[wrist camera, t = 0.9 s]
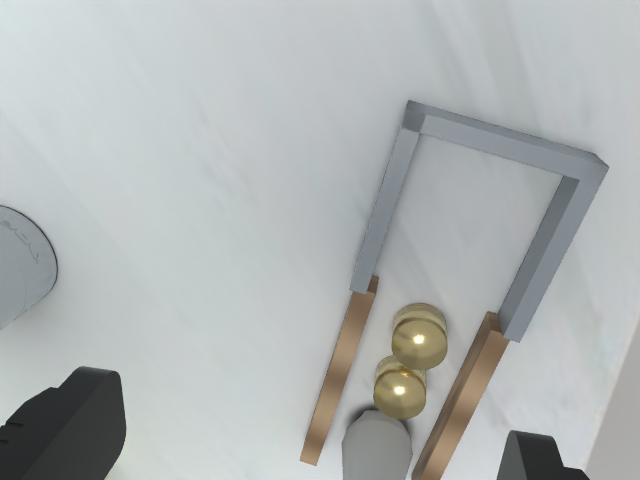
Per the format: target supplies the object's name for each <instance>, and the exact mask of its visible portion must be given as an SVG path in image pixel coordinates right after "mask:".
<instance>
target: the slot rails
mask: <svg viewBox="0 0 640 480" xmlns="http://www.w3.org/2000/svg"><path fill="white" fill-rule="evenodd" d="M377 284H378V277H374V276H372V277H371V280H370V283H369V286H368V289H367V292H366V295H365V294H362V293H359V292H356V291H353V294H352V297H351V300H350V303H349V306H348V309H347V312H346V316H345V319H344V322H343V325H342V328H341V331H340V334H339V337H338V340H337V343H336V346H335V349H334V353H333V356H332V359H331V362H330V365H329V368H328V371H327V374H326V377H325V380H324V383H323V386H322V390H321V393H320V396H319V399H318V402H317V405H316V408H315V411H314V414H313V417H312V420H311V424H310V427H309V430H308V433H307V436H306V439H305V442H304V446H303V450H302V453H301V457H300V461H302V462H305V463H308V464H311V465H314V466H316V465H317V462H318V459H319V456H320V453H321V450H322V448H323V445H324V442H325V439H326V436H327V433H328V430H329V427H330V425H331V422H332V419H333V416H334V413H335V410H336V407H337V404H338V401H339V399H340V396H341V393H342V390H343V387H344V384H345V381H346V378H347V376H348V373H349V370H350V367H351V364H352V361H353V358H354V355H355V352H356V350H357V347H358V344H359V341H360V338H361V335H362V332H363V329H364V327H365V324H366V321H367V318H368V315H369V312H370V309H371V306H372V304H373V301H374V298H375V295H376V290H377ZM509 341H510V340H509V339H506V338H503V336H502V331H501V327H500V322H499V318H498V315H497V314H494V313H491V312H487V314H486V316H485V318H484V320H483V322H482V325H481V327H480V329H479V331H478V333H477V335H476V338H475V340H474V342H473V344H472V346H471V348H470V350H469V353H468V355H467V357H466V359H465V361H464V363H463V365H462V368H461V370H460V372H459V374H458V376H457V378H456V381H455V383H454V385H453V387H452V389H451V391H450V393H449V396H448V398H447V400H446V402H445V404H444V406H443V409H442V411H441V413H440V415H439V417H438V419H437V421H436V424H435V426H434V428H433V430H432V432H431V434H430V437H429V439H428V441H427V443H426V445H425V447H424V449H423V452H422V454H421V456H420V458H419V460H418V462H417V465H416V467H415V469H414V471H413V473H412V480H440V479H441V477H442V475H443V473H444V471H445V469H446V467H447V465H448V463H449V461H450V459H451V457H452V455H453V453H454V451H455V449H456V447H457V445H458V443H459V441H460V439H461V437H462V435H463V433H464V431H465V429H466V427H467V425H468V423H469V421H470V419H471V417H472V415H473V413H474V411H475V409H476V407H477V405H478V403H479V401H480V399H481V397H482V395H483V393H484V391H485V389H486V387H487V385H488V383H489V381H490V379H491V377H492V375H493V373H494V371H495V369H496V367H497V365H498V363H499V361H500V359H501V357H502V355H503V353H504V351H505V349H506V347H507V345H508V343H509Z"/></svg>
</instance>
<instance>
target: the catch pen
mask: <svg viewBox="0 0 640 480" xmlns="http://www.w3.org/2000/svg"><path fill="white" fill-rule="evenodd" d="M420 133H421V134H425V135H428V136H432V137H435V138H439V139H442V140H445V141H449V142H452V143H456V144H459V145H462V146H466V147H469V148H473V149H476V150H480V151H483V152H486V153H490V154H493V155H497V156H500V157H503V158H507V159H510V160H514V161H517V162H521V163H524V164H527V165H531V166H534V167H538V168H541V169H545V170H548V171H551V172H555V173H558V174H562V175H564V177H563V179H562V181H561V183H560V185H559V187H558V189H557V191H556V194H555V196H554V198H553V200H552V202H551V204H550V206H549V208H548V210H547V212H546V215H545V217H544V219H543V221H542V223H541V225H540V227H539V229H538V231H537V233H536V236H535V238H534V240H533V242H532V244H531V246H530V248H529V250H528V252H527V254H526V257H525V259H524V261H523V263H522V265H521V267H520V269H519V271H518V273H517V275H516V278H515V280H514V282H513V284H512V286H511V288H510V290H509V292H508V294H507V296H506V299H505V301H504V303H503V305H502V307H501V309H500V311H499V313H498V318H499V322H500V327H501V331H502V336H503V338H506V339H509V340H512V341H516V342H519V343H520V341H521V339H522V337H523V335H524V333H525V331H526V329H527V327H528V325H529V323H530V321H531V320H532V318H533V316H534V314H535V312H536V310H537V308H538V306H539V304H540V302H541V300H542V298H543V296H544V294H545V292H546V290H547V288H548V286H549V284H550V282H551V281H552V279H553V277H554V275H555V273H556V271H557V269H558V267H559V265H560V263H561V261H562V259H563V257H564V255H565V253H566V251H567V249H568V247H569V245H570V243H571V241H572V240H573V238H574V236H575V234H576V232H577V230H578V228H579V226H580V224H581V222H582V220H583V218H584V216H585V214H586V212H587V210H588V208H589V206H590V204H591V202H592V200H593V199H594V197H595V195H596V193H597V191H598V189H599V187H600V185H601V183H602V181H603V179H604V177H605V175H606V173H607V171H608V169H609V166H608V165H607V164H605V163H604V162H603V161H602V160H601V159H600V158H599V157H598V156H597V155H595V154H593V153H589V152H586V151H582V150H579V149H575V148H572V147H569V146H565V145H562V144H558V143H555V142H551V141H548V140H544V139H541V138H537V137H534V136H530V135H527V134H524V133H520V132H517V131H513V130H510V129H506V128H503V127H499V126H496V125H492V124H489V123H486V122H482V121H479V120H475V119H472V118H468V117H465V116H461V115H458V114H454V113H451V112H448V111H444V110H441V109H437V108H434V107H430V106H427V105H423V104H420V103H416V102H413V101H408V104H407V107H406V110H405V113H404V116H403V120H402V123H401V126H400V129H399V132H398V135H397V138H396V141H395V145H394V148H393V151H392V154H391V157H390V160H389V163H388V167H387V170H386V173H385V176H384V179H383V182H382V185H381V189H380V192H379V195H378V198H377V201H376V204H375V207H374V211H373V214H372V217H371V220H370V223H369V226H368V229H367V232H366V236H365V239H364V242H363V245H362V248H361V251H360V254H359V258H358V261H357V264H356V267H355V270H354V274H353V278H352V281H351V285H350V289H349V290H352V291H356V292H359V293H362V294H365V295H366V292H367V289H368V286H369V283H370V280H371V277H372V274H373V271H374V268H375V265H376V262H377V259H378V256H379V253H380V250H381V247H382V244H383V241H384V238H385V235H386V232H387V229H388V226H389V223H390V220H391V218H392V215H393V212H394V209H395V206H396V203H397V200H398V197H399V194H400V191H401V188H402V185H403V182H404V179H405V176H406V173H407V170H408V167H409V164H410V161H411V158H412V155H413V152H414V149H415V146H416V143H417V140H418V137H419V134H420Z"/></svg>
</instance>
